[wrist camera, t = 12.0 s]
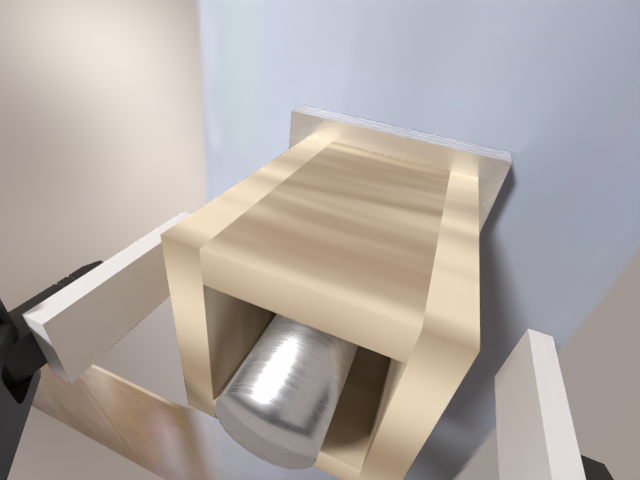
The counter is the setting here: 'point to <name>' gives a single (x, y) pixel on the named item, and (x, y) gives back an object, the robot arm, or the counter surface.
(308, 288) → the birch sleeve
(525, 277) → the counter surface
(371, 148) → the post stand
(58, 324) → the robot arm
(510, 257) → the counter surface
